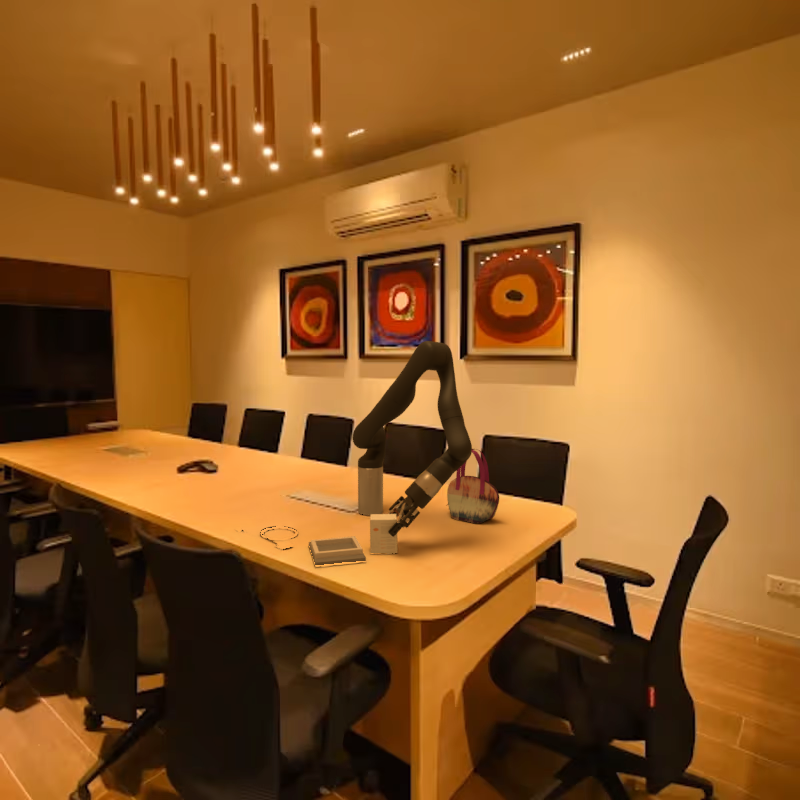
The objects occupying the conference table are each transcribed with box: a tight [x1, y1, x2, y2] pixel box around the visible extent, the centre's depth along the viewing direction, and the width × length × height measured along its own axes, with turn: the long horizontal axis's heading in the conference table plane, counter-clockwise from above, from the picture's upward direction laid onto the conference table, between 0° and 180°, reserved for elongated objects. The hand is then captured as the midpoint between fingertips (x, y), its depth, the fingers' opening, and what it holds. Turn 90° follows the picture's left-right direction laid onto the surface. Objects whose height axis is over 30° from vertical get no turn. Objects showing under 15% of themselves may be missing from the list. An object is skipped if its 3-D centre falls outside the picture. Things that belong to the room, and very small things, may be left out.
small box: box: [369, 513, 398, 555], centre depth 158 cm, size 8×6×10 cm
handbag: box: [445, 448, 500, 524], centre depth 190 cm, size 21×10×25 cm, turn 52°
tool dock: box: [308, 535, 367, 566], centre depth 155 cm, size 17×14×3 cm
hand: (386, 529), depth 158 cm, fingers open, 8 cm apart
